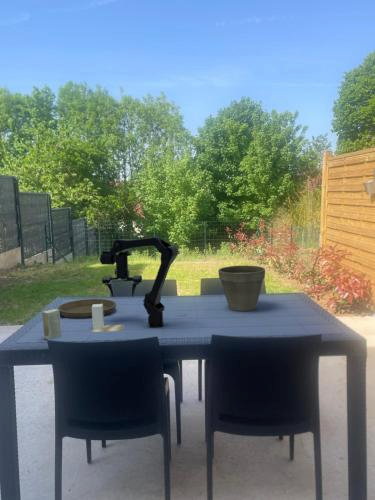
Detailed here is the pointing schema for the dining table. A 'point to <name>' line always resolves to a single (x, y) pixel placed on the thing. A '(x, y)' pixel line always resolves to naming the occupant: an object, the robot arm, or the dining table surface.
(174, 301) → the dining table surface
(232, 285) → the plant pot
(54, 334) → the skincare box
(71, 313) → the plant saucer
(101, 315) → the tall white cuboid
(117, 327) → the board
